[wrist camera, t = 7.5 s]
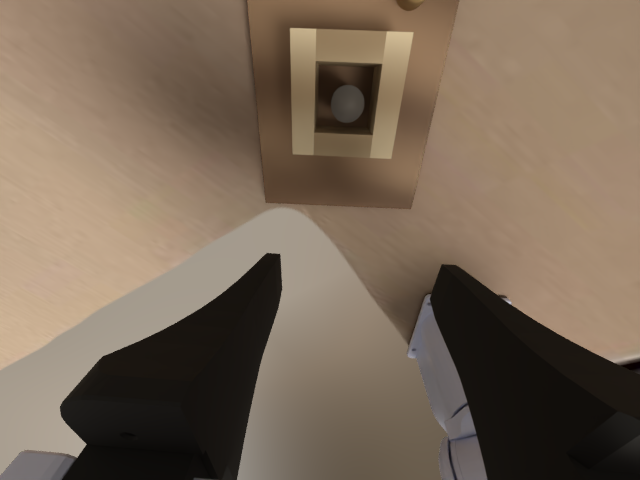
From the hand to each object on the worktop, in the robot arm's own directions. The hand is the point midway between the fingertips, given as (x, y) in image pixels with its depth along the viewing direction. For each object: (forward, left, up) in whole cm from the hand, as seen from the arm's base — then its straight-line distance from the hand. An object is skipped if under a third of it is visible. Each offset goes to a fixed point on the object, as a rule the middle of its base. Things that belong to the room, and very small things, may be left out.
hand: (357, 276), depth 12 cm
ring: (+7, +1, -9) cm, 11 cm away
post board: (+7, +1, -10) cm, 12 cm away
